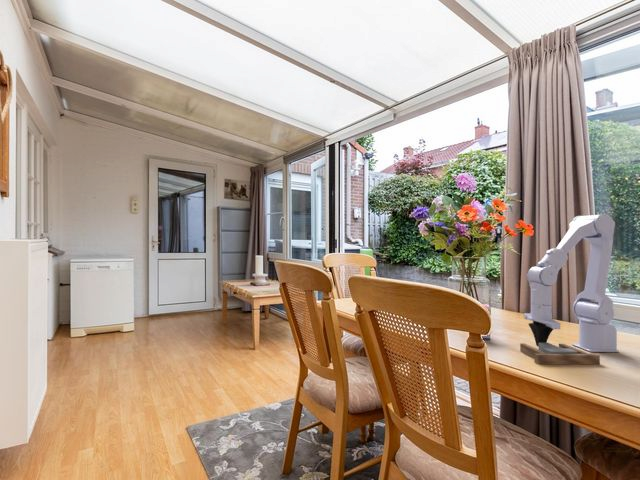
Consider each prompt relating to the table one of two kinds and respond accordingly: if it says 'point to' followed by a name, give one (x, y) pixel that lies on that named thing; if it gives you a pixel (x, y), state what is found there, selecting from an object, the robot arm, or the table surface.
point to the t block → (555, 349)
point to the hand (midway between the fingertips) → (540, 346)
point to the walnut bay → (560, 356)
